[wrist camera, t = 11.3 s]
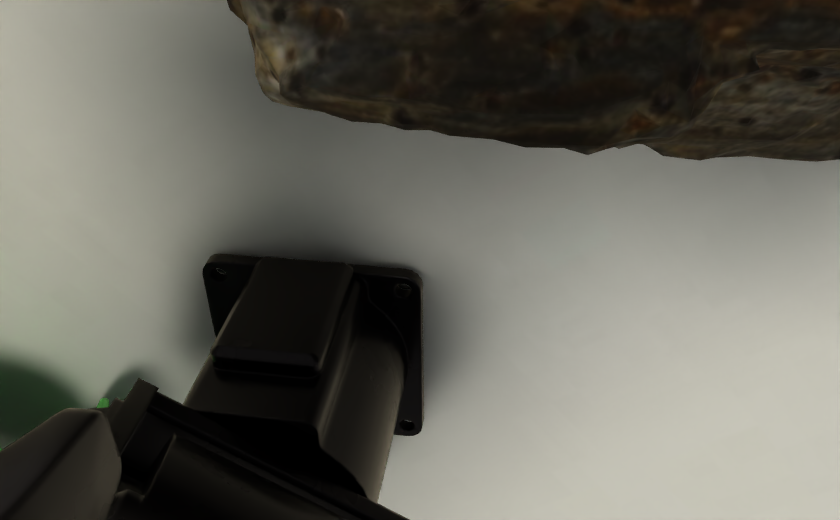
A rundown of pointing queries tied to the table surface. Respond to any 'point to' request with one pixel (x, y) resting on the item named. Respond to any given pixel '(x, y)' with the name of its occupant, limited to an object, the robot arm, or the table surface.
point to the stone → (566, 70)
